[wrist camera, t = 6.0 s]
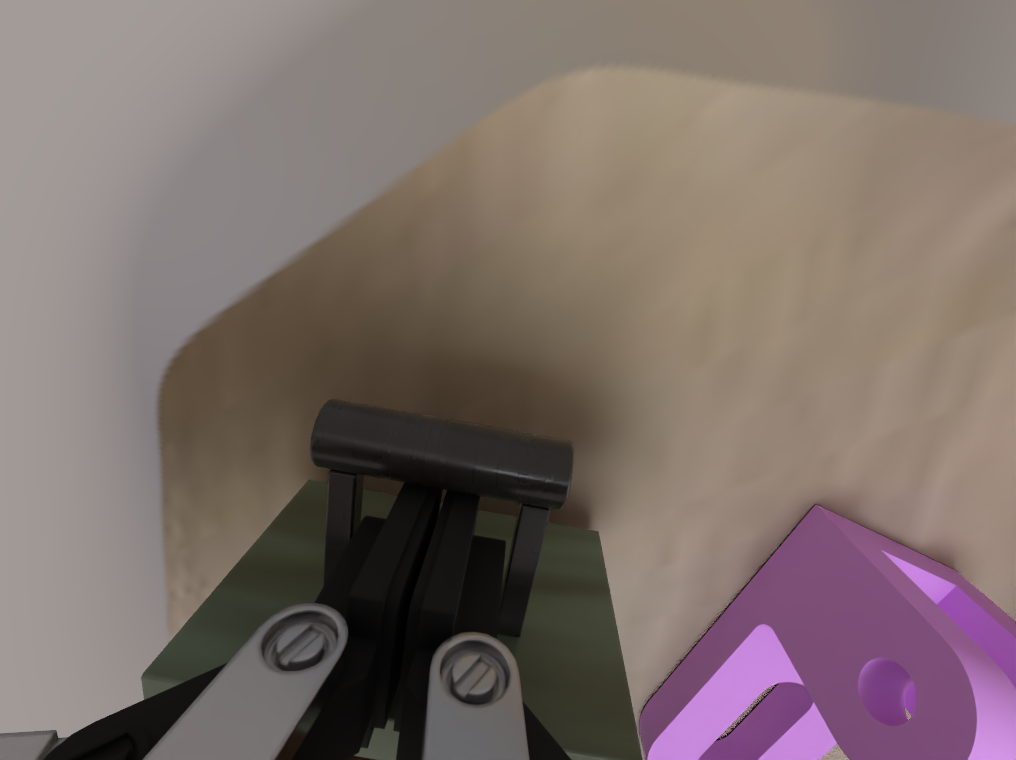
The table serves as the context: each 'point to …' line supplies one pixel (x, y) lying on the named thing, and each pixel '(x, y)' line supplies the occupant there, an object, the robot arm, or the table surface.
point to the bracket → (845, 660)
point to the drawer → (529, 537)
